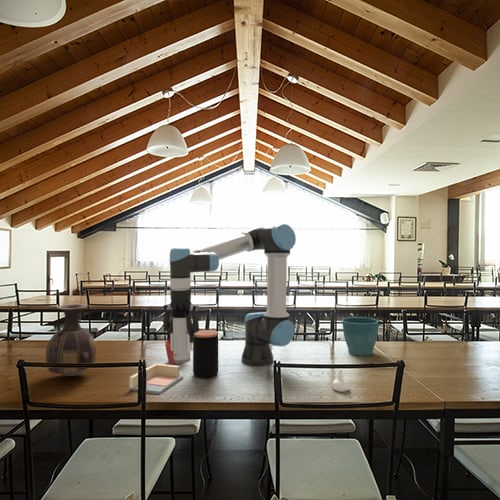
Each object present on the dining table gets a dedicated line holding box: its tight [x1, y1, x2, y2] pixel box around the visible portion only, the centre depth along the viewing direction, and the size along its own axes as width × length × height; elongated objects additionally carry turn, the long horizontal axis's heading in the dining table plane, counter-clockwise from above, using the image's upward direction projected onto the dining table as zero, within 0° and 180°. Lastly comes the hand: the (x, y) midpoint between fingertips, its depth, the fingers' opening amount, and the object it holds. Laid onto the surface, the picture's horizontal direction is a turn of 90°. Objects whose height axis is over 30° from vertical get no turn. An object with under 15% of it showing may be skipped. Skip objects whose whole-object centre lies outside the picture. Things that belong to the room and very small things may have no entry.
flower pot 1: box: [164, 339, 182, 365], centre depth 180 cm, size 11×11×10 cm
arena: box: [129, 363, 184, 395], centre depth 151 cm, size 13×18×5 cm
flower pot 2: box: [341, 316, 380, 357], centre depth 195 cm, size 18×18×17 cm
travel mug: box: [172, 309, 191, 364], centre depth 143 cm, size 6×7×20 cm
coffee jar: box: [192, 329, 219, 380], centre depth 162 cm, size 11×11×18 cm
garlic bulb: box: [331, 368, 350, 393], centre depth 145 cm, size 6×6×8 cm
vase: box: [44, 303, 97, 377], centre depth 159 cm, size 23×19×30 cm
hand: (181, 350), depth 143 cm, fingers closed on travel mug, 6 cm apart
